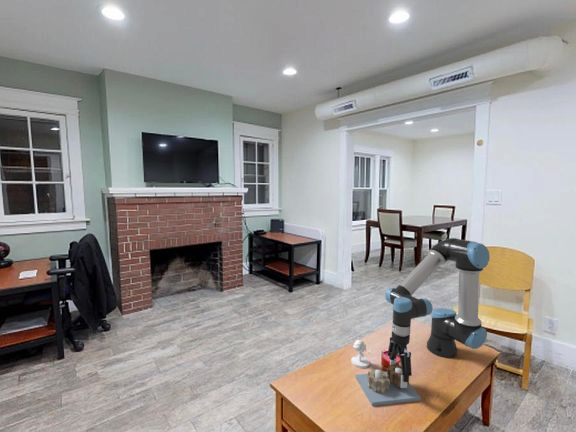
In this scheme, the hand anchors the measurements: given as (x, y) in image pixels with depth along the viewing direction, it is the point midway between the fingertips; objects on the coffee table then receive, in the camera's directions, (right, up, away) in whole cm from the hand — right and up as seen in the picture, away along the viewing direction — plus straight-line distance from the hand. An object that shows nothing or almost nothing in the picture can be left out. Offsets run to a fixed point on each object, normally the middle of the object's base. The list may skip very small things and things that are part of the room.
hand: (397, 379), depth 133 cm
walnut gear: (0, 0, 0) cm, 0 cm away
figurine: (-12, -2, +19) cm, 22 cm away
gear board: (-5, -4, 0) cm, 6 cm away
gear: (-9, -2, -1) cm, 10 cm away
